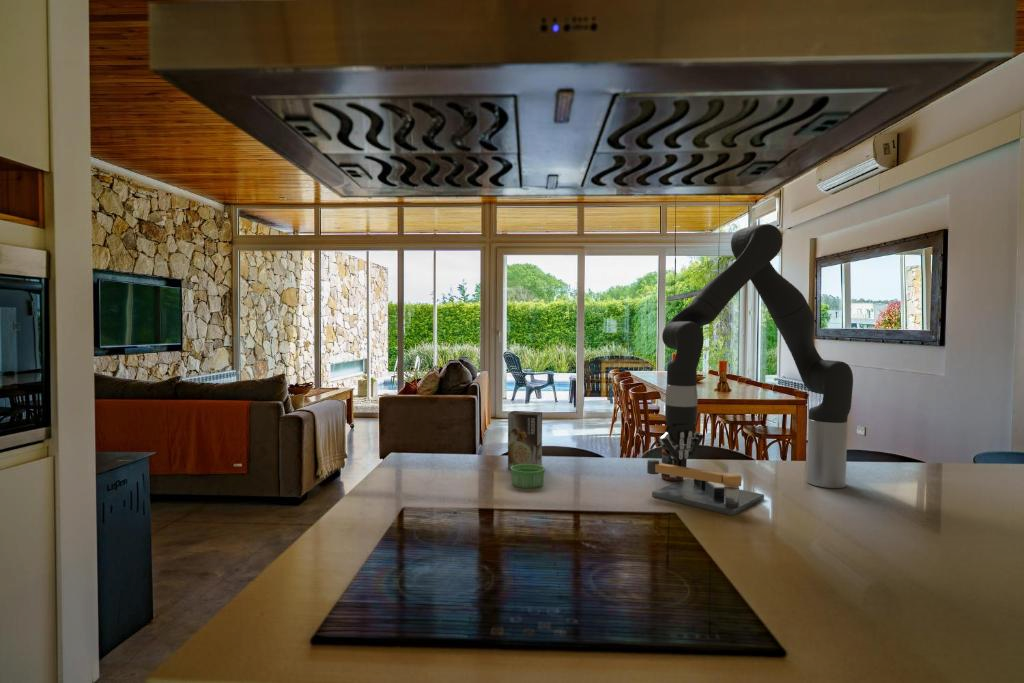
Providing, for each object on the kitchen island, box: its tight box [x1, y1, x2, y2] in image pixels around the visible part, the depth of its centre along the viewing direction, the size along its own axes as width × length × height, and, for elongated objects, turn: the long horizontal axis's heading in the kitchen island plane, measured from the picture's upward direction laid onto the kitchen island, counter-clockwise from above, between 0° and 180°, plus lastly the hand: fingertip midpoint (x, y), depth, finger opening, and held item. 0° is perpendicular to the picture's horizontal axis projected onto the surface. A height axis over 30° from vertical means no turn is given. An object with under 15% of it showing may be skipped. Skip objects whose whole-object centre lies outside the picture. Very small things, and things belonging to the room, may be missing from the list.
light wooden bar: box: [646, 459, 742, 488], centre depth 138 cm, size 22×4×3 cm, turn 53°
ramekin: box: [510, 464, 546, 489], centre depth 152 cm, size 9×9×4 cm
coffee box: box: [507, 410, 543, 470], centre depth 170 cm, size 9×6×16 cm
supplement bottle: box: [660, 442, 684, 482], centre depth 160 cm, size 6×6×11 cm
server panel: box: [651, 478, 765, 516], centre depth 143 cm, size 19×20×5 cm
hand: (679, 473), depth 144 cm, fingers closed
